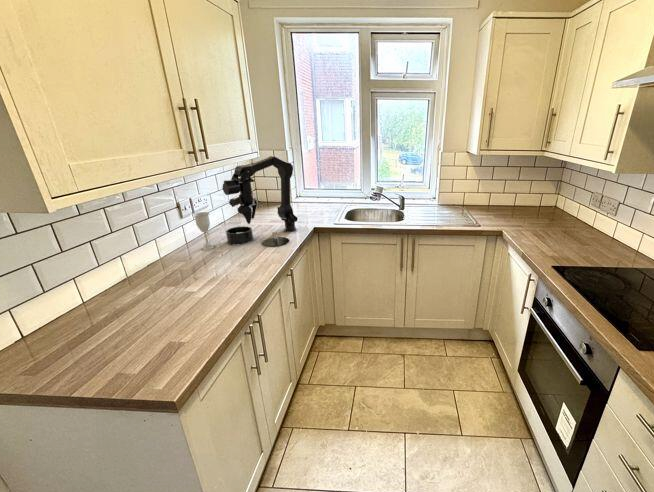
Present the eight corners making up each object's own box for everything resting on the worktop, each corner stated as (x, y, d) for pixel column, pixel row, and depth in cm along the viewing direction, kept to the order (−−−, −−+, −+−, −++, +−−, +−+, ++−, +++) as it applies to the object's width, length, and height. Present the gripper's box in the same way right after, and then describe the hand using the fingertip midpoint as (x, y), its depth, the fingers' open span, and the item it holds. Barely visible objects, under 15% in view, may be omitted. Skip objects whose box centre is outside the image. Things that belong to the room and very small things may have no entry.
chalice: (209, 251, 157) (201, 216, 150) (197, 250, 158) (189, 215, 151) (219, 246, 164) (212, 212, 157) (207, 244, 165) (200, 211, 158)
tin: (231, 237, 175) (229, 226, 173) (255, 236, 178) (253, 225, 175) (225, 246, 164) (223, 234, 161) (251, 244, 166) (249, 233, 164)
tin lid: (264, 239, 174) (263, 229, 171) (290, 238, 176) (289, 227, 174) (260, 248, 161) (259, 237, 159) (288, 247, 164) (286, 236, 162)
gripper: (234, 188, 167) (239, 216, 173) (223, 196, 150) (229, 227, 156) (256, 187, 169) (260, 215, 175) (248, 195, 152) (253, 226, 158)
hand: (250, 221), depth 166 cm, fingers open, 9 cm apart
